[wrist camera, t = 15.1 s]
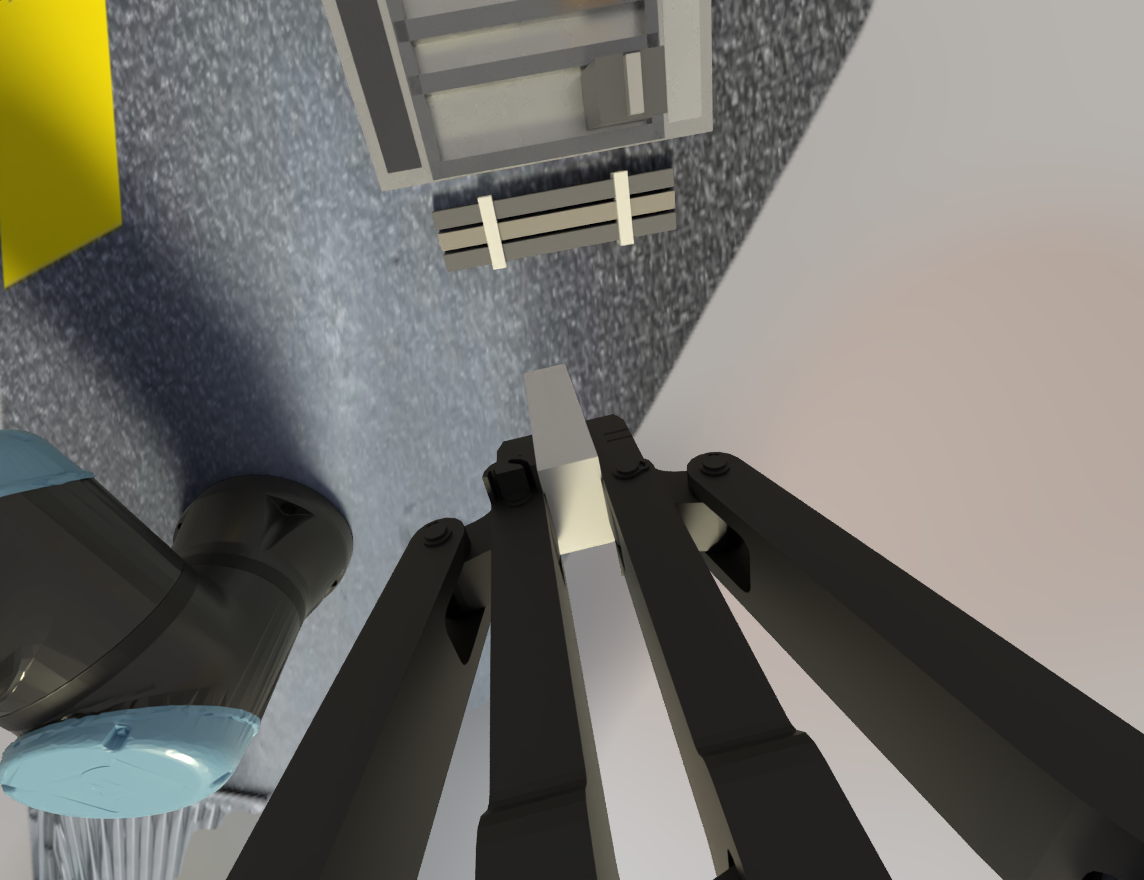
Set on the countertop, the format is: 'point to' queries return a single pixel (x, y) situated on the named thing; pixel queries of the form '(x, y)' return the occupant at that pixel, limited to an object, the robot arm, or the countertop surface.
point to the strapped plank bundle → (557, 219)
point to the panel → (508, 79)
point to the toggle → (625, 87)
